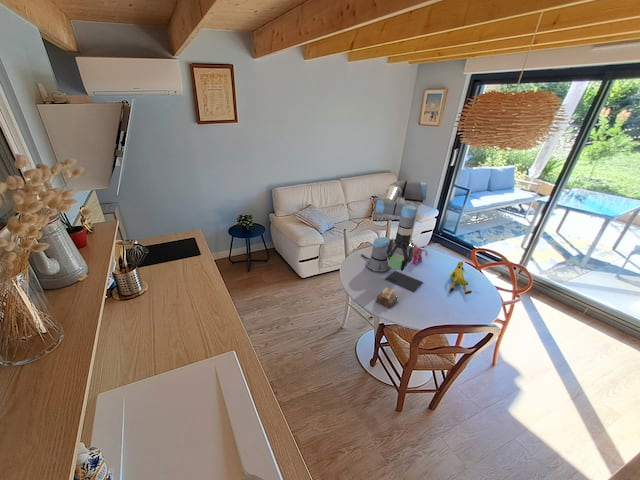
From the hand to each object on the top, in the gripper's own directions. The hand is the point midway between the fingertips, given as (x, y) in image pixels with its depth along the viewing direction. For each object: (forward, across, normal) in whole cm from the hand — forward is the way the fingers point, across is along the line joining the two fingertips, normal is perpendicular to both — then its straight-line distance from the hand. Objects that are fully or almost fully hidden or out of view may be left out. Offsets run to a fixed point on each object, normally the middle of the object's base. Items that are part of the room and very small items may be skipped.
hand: (396, 267), depth 170 cm
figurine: (+23, +26, +48) cm, 59 cm away
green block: (-1, 0, 0) cm, 1 cm away
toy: (+24, -12, +56) cm, 62 cm away
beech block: (+19, 0, -5) cm, 19 cm away
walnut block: (+23, 0, -5) cm, 23 cm away
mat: (+23, -2, +24) cm, 33 cm away
